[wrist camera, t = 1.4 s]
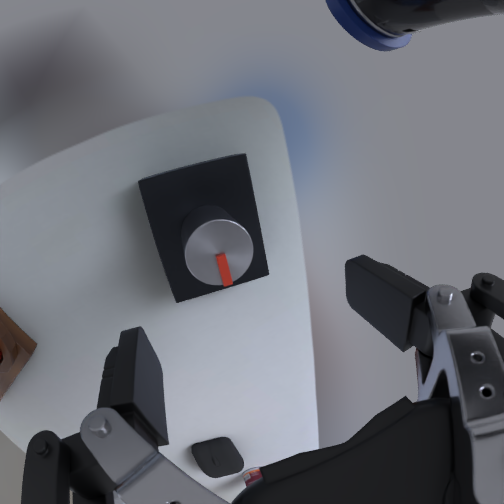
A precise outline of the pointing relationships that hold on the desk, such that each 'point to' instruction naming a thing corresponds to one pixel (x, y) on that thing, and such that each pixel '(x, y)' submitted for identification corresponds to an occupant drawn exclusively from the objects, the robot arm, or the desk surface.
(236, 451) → the computer mouse
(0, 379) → the button block
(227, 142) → the desk surface
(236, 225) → the silver rotary knob
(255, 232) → the knob base
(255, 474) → the pill bottle
